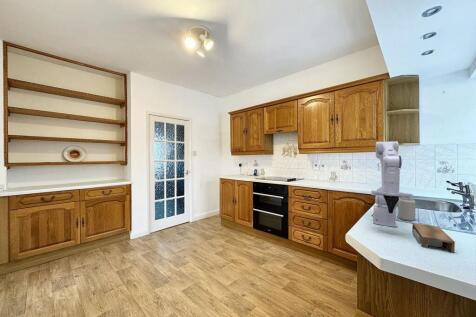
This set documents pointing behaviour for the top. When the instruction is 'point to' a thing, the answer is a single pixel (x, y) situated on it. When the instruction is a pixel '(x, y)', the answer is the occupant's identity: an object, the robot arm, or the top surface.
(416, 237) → the tray
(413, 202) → the can
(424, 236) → the shelf
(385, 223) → the robot arm
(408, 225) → the top surface
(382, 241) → the top surface
